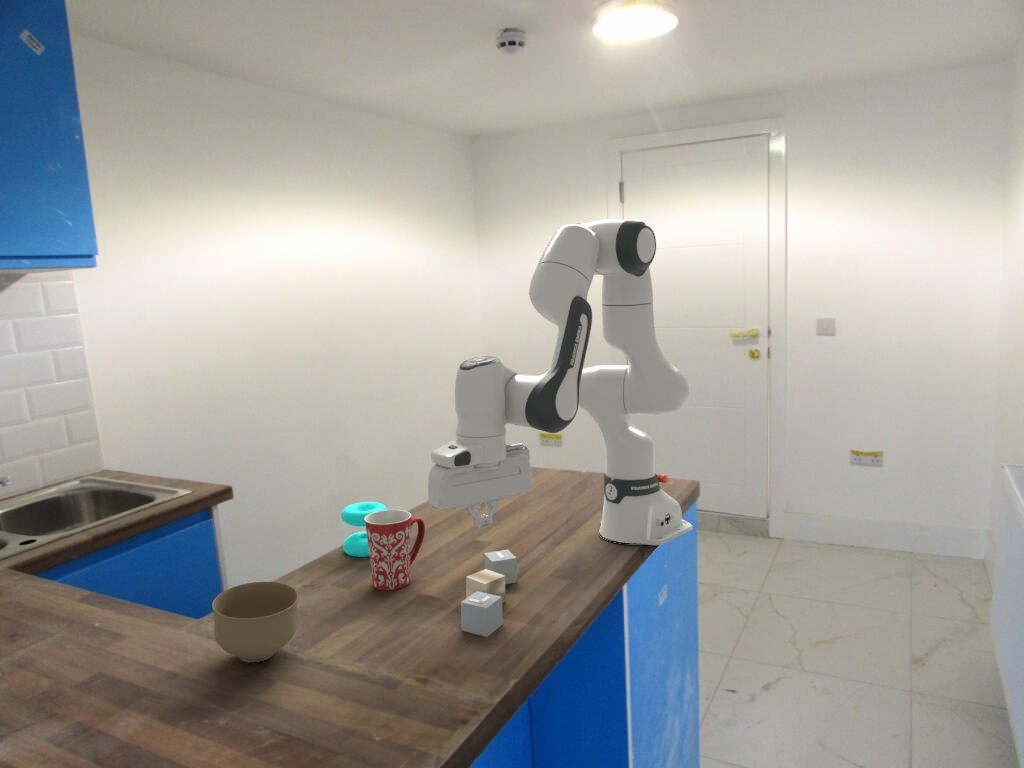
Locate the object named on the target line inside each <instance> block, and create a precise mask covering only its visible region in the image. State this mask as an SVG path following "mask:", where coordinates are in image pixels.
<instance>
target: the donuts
mask: <svg viewBox="0 0 1024 768" xmlns="http://www.w3.org/2000/svg"><path fill="white" fill-rule="evenodd" d="M382 510H388V508H387V506H386V505H385V504H383V503H381V502H377V501H360V502H356V503H351V504H349V505H347V506H345V507H344V508H343V509H342V511H341V513H340V516H341V519H342V521H343V522H344V523H345V524H347V525H349V526H352V527H359V528H360V527H363V528H365V527H366V524H365V521H364V518H365V517H366V516H367V515H369V514H371V513H374V512H377V511H382ZM342 544H343V545H342V549H343V551H344V552H345V554H347V555H348V556H351V557H355V558H356V557H357V558H367V557H369V549H368V540H367V532H366V530H363V531H359V532H358V531H357V532H355V533H352V534H350V535H349V536H347V537H346V538H345V540H344V541H343V543H342Z"/></svg>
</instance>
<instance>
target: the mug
mask: <svg viewBox="0 0 1024 768" xmlns="http://www.w3.org/2000/svg"><path fill="white" fill-rule="evenodd" d="M364 521H365V524H366V526H365V529H366V530H365V531H366V532H367V540H368V549H369V556H368V557H369V563H370V572H371V581H372V582H371V583H372V586H373V588H375V589H378V590H381V591H393V590H398V589H403V588H405V587H406V586H408V585H409V584H410V582H411V567H412V564H413V563H414V561H415V559H416V557H417V556H418V555H419V554H418V553H419V551H420V549H421V547H422V545H423V543H424V537H425V531H426V527H425V522H424V520H423V519H422V518H420V517H418V516H413V515H412V513H410V512H409V511H406V510H402V509H387V510H382V511H377V512H374V513H371V514H369V515H367V516H366V517H365V518H364ZM415 523H417V528H418V529H417V536H416V539H415V541H414V543H413V545H412V548H411V530H412V529H411V528H412V526H413V525H414V524H415Z"/></svg>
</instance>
